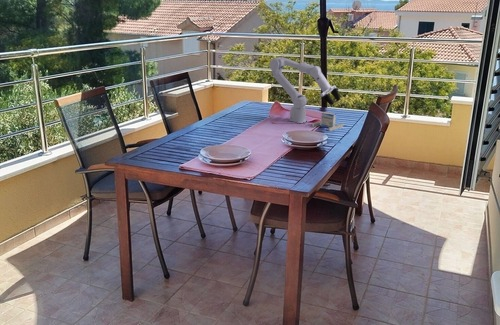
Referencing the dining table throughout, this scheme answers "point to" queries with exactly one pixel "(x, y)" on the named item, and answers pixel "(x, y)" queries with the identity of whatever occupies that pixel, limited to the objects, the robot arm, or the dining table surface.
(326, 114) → the medicine box
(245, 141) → the dining table surface
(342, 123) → the parallel bars
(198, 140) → the dining table surface
